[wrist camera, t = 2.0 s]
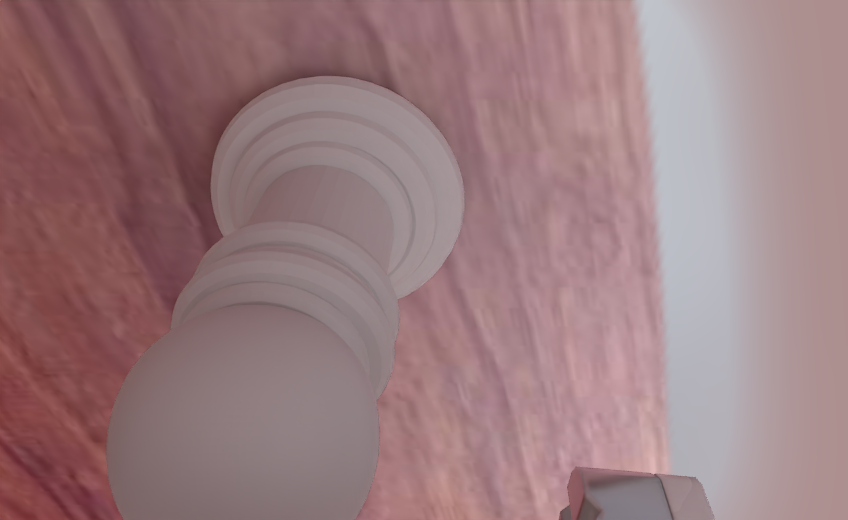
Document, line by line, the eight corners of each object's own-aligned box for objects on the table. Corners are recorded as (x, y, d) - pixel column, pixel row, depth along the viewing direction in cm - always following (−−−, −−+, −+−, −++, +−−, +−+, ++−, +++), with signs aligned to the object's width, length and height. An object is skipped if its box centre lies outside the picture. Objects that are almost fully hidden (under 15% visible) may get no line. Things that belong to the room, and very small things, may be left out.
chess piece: (191, 78, 14) (-142, 374, 6) (455, 58, 14) (443, 351, 6) (248, 297, 17) (66, 689, 9) (471, 287, 16) (476, 691, 9)
